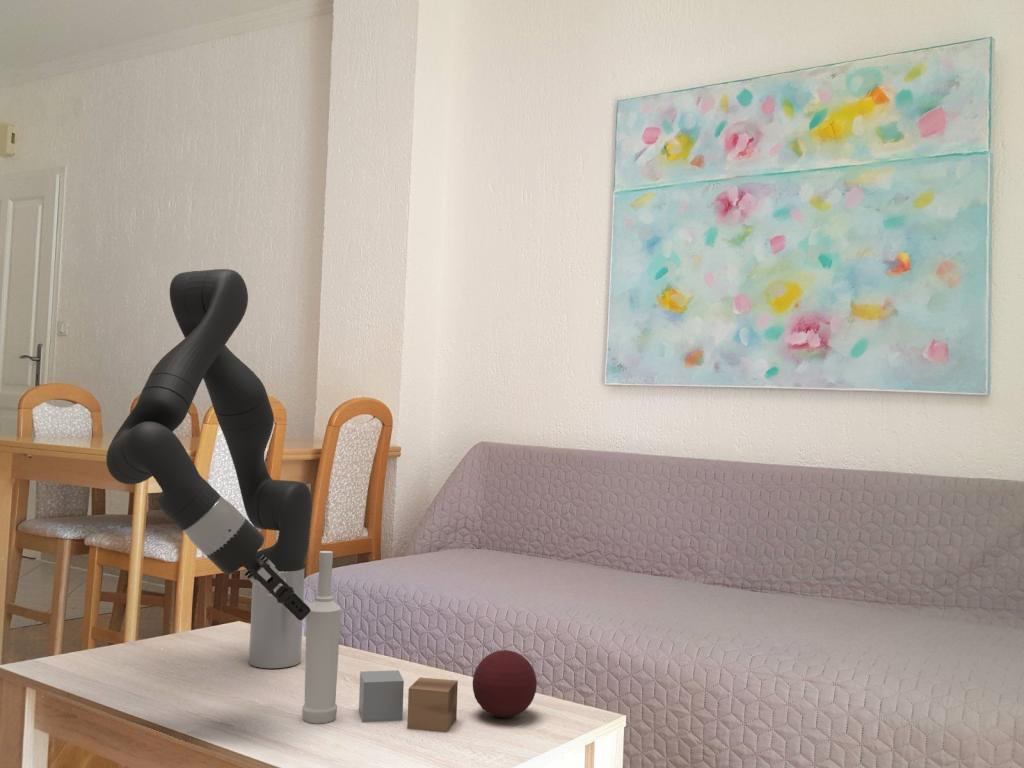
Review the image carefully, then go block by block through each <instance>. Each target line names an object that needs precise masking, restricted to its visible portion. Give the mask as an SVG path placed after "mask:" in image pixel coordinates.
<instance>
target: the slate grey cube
mask: <svg viewBox="0 0 1024 768" xmlns="http://www.w3.org/2000/svg"><path fill="white" fill-rule="evenodd" d="M404 682H405V680H404V678H403V676H402V674H401V672H400V670H398V669H397V670H396V669H394V670H392V669H391V670H371V671H370V670H369V671H368V670H367V671H366V670H365V671H360V673H359V697H358V712H359V716H360V719H361V722H362V723H378V722H397V721H398V722H400V721H402V722H403V713H404V712H403V711H404V710H403V709H404V708H403V707H404V686H405V685H404Z"/></svg>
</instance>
